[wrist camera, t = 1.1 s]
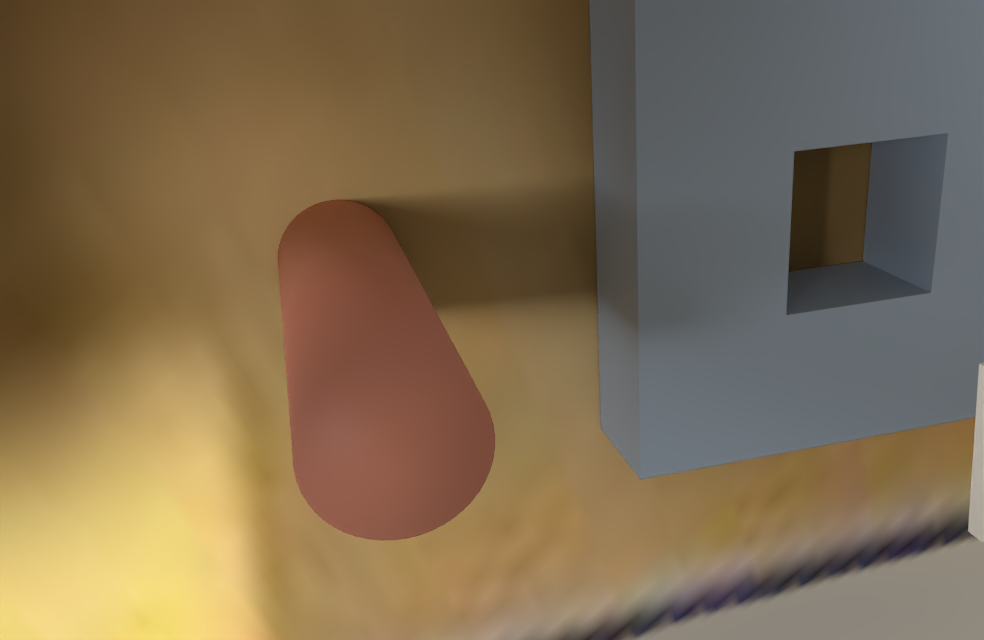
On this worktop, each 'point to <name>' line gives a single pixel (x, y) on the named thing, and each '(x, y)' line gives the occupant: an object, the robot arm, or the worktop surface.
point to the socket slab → (783, 223)
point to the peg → (374, 382)
